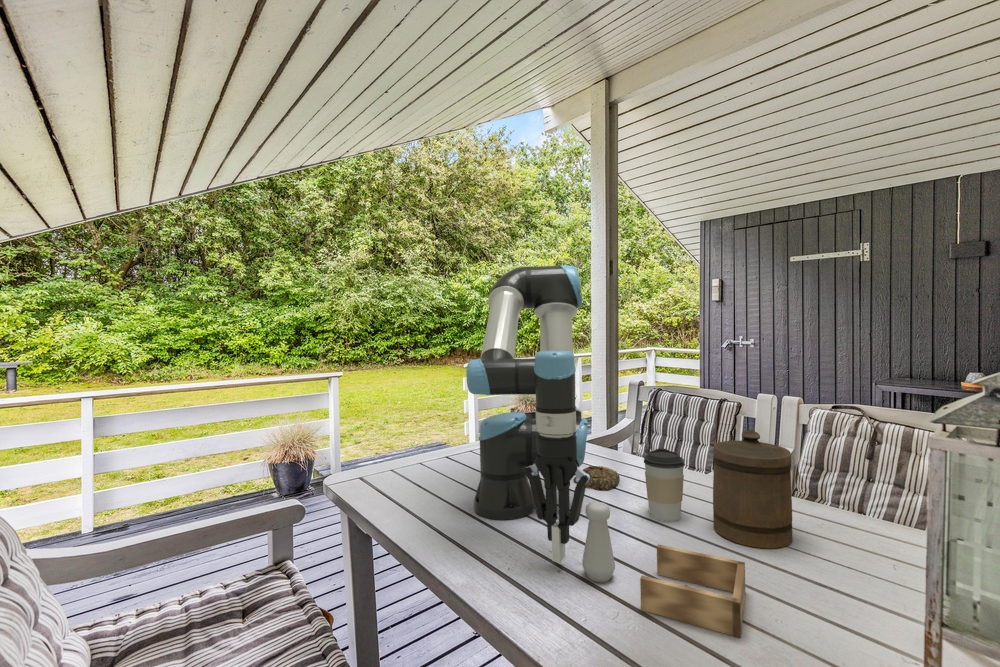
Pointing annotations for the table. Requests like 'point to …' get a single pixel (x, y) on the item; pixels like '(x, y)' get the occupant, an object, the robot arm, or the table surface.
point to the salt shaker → (598, 544)
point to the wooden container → (752, 492)
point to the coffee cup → (664, 484)
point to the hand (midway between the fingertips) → (558, 558)
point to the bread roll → (601, 478)
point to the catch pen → (696, 590)
